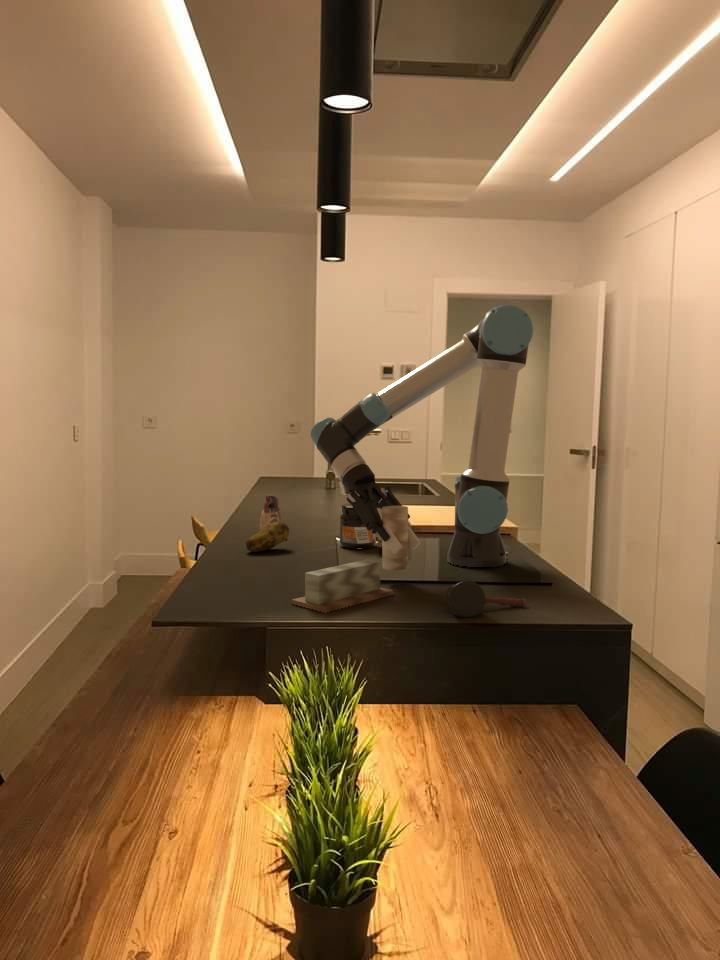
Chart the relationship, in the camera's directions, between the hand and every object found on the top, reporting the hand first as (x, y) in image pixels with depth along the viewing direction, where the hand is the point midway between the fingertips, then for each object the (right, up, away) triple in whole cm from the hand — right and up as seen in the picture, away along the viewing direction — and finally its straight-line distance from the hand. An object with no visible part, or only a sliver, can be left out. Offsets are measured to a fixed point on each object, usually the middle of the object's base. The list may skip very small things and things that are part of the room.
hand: (407, 548), depth 191 cm
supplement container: (-12, -4, +48) cm, 50 cm away
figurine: (-39, -1, +71) cm, 81 cm away
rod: (-3, -5, +3) cm, 6 cm away
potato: (-37, -4, +42) cm, 56 cm away
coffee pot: (+15, -12, -21) cm, 28 cm away
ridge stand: (-14, -10, -12) cm, 21 cm away
